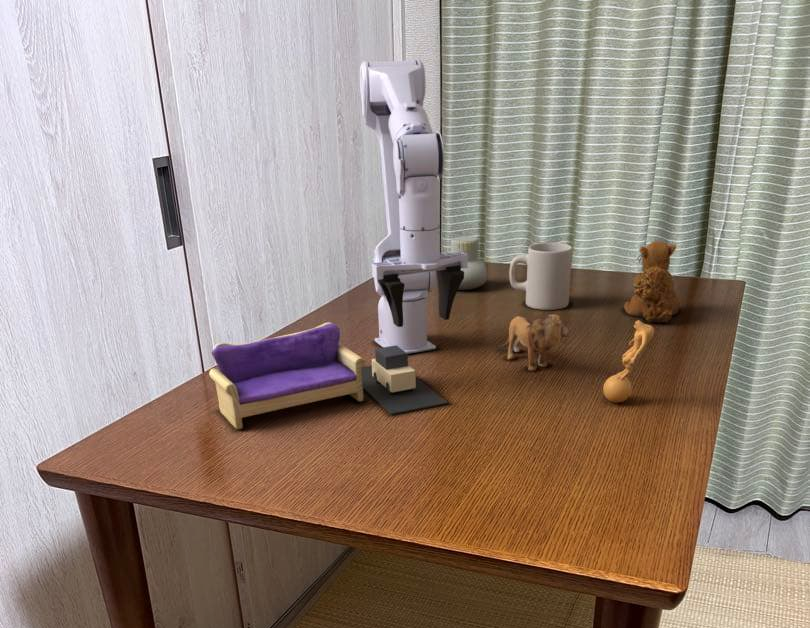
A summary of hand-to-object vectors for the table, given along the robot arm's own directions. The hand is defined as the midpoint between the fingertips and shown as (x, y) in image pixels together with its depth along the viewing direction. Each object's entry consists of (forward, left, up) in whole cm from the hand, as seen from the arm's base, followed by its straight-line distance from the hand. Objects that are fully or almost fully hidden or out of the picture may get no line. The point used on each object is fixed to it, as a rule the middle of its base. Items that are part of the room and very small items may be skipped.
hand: (421, 321), depth 123 cm
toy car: (+1, -5, -9) cm, 11 cm away
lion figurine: (+1, +19, -10) cm, 21 cm away
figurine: (+22, +22, -10) cm, 33 cm away
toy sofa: (+1, -22, -10) cm, 24 cm away
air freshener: (-47, +31, -10) cm, 57 cm away
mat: (+1, -5, -9) cm, 11 cm away
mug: (-28, +38, -10) cm, 49 cm away
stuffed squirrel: (-10, +52, -10) cm, 54 cm away
